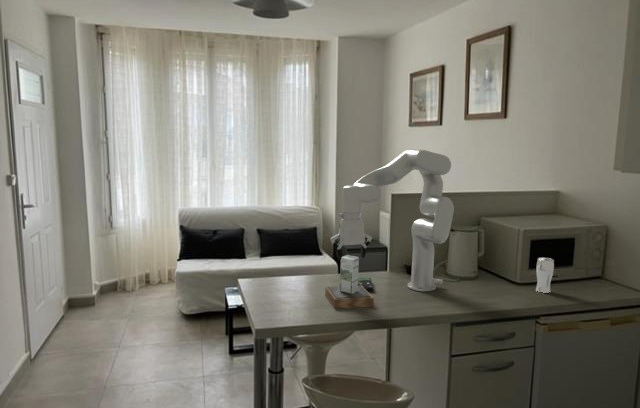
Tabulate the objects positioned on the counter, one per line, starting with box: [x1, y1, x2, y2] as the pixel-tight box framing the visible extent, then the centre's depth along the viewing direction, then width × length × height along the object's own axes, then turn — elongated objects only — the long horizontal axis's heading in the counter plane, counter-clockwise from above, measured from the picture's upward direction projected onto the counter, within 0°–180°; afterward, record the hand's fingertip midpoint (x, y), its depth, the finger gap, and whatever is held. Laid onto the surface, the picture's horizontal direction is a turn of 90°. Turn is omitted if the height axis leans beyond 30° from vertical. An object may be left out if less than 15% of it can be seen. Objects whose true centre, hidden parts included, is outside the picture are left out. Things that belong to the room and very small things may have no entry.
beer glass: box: [535, 257, 555, 294], centre depth 212 cm, size 7×7×15 cm
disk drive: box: [358, 277, 374, 293], centre depth 213 cm, size 10×3×15 cm
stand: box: [324, 286, 375, 309], centre depth 193 cm, size 16×16×4 cm
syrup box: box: [339, 254, 360, 294], centre depth 192 cm, size 6×6×14 cm
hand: (351, 257), depth 191 cm, fingers open, 9 cm apart
